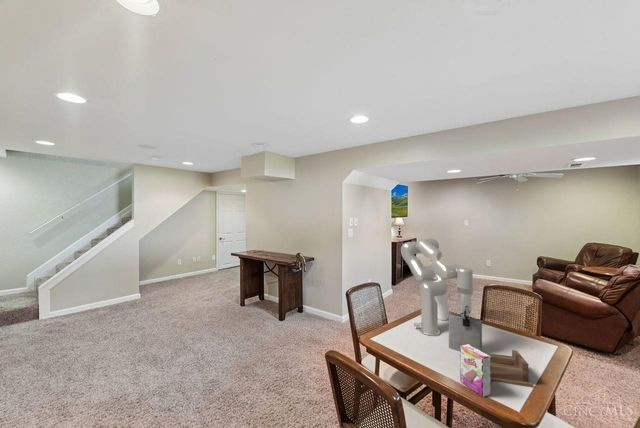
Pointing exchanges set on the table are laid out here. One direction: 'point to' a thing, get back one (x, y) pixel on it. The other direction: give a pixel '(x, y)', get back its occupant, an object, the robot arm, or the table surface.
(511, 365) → the brown rectangular open tray
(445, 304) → the white tall cylinder
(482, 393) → the candy bar box
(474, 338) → the hip flask
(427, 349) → the table surface
